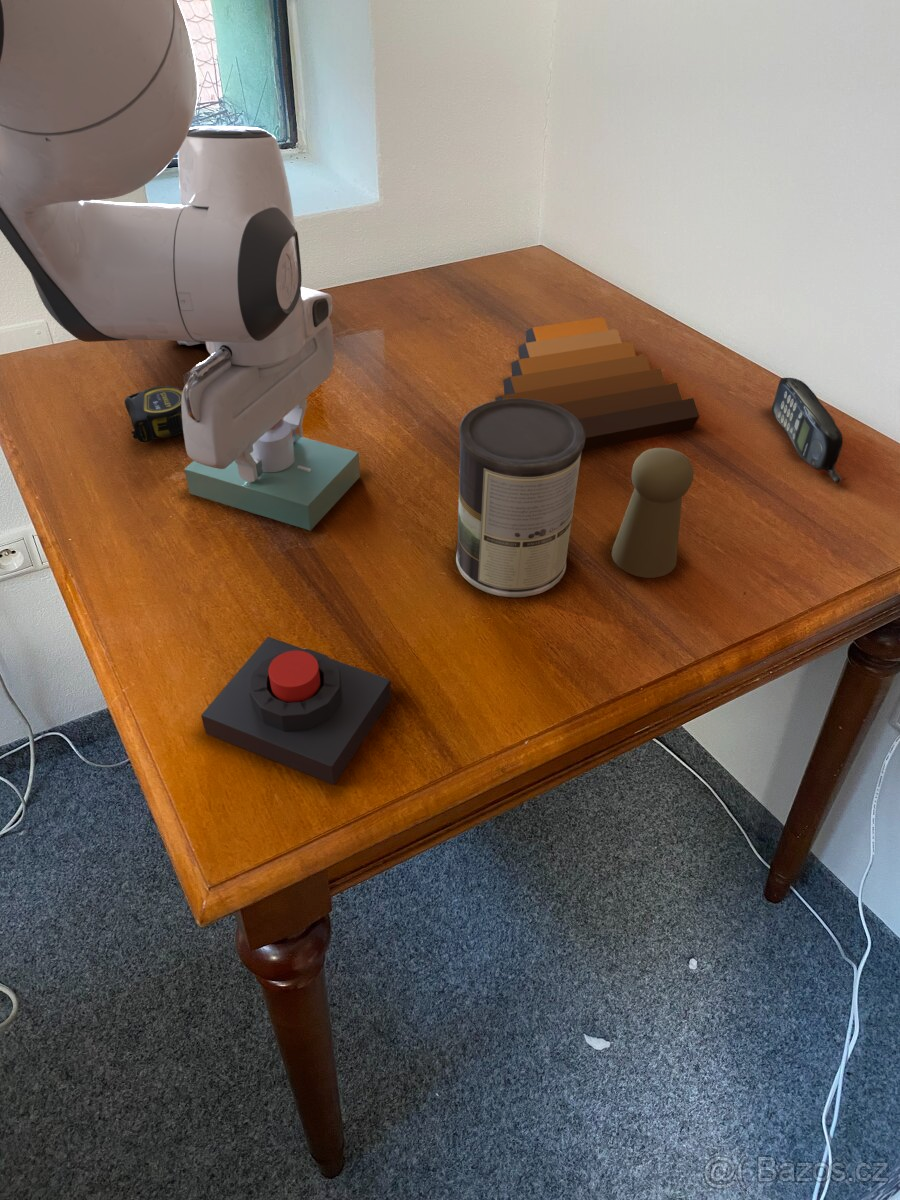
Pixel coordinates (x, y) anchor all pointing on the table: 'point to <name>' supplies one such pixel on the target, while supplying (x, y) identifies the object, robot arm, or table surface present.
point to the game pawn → (653, 514)
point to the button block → (299, 713)
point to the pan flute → (598, 383)
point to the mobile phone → (808, 425)
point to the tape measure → (155, 413)
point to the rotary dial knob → (275, 448)
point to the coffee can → (516, 495)
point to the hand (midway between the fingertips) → (272, 457)
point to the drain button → (294, 676)
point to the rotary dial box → (283, 484)
